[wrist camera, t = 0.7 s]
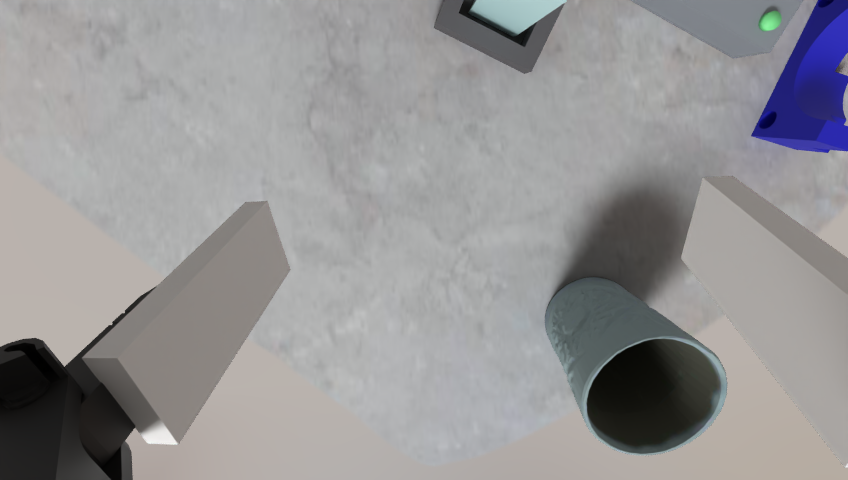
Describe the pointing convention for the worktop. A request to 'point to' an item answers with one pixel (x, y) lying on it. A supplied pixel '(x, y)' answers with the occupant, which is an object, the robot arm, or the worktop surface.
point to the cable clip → (811, 87)
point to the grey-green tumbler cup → (633, 369)
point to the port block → (729, 22)
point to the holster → (497, 36)
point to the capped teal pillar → (512, 13)
